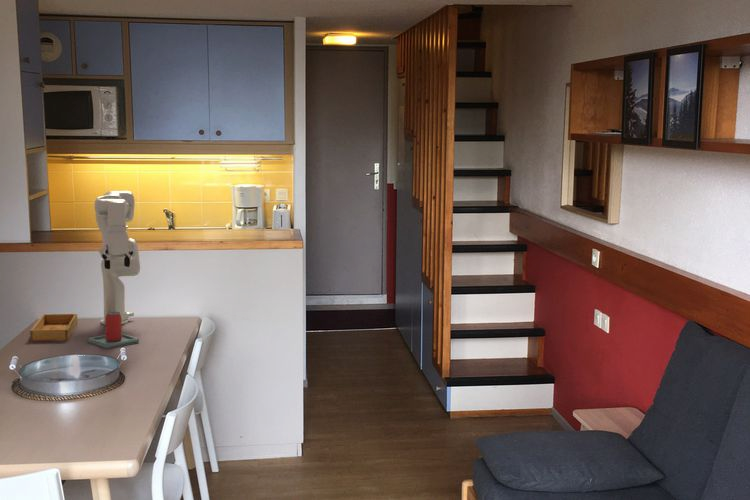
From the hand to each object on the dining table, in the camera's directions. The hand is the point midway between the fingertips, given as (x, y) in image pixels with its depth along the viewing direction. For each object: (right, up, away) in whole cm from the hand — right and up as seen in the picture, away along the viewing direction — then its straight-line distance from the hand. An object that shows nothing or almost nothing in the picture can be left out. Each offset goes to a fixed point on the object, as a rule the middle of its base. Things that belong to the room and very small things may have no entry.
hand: (117, 267), depth 361 cm
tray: (-29, -30, +5) cm, 42 cm away
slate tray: (+1, -32, -9) cm, 33 cm away
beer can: (+1, -31, -9) cm, 33 cm away
